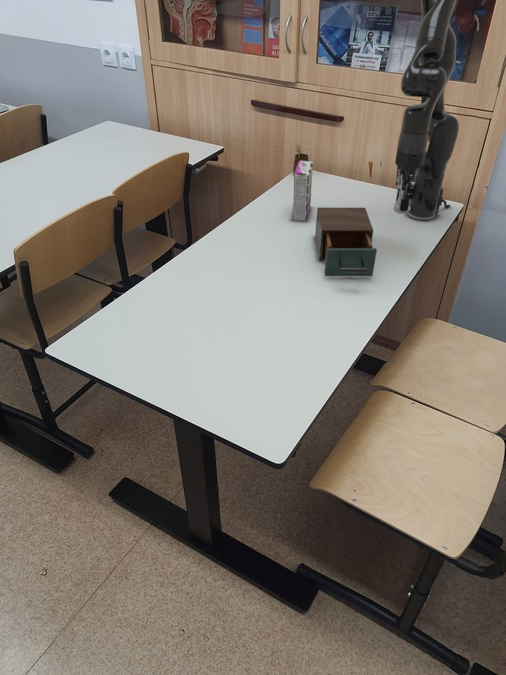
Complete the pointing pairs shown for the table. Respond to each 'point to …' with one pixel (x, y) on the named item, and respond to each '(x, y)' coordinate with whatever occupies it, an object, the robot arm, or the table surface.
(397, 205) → the rook chess piece
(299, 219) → the candy bar box
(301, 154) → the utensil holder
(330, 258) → the drawer
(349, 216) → the cabinet
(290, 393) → the table surface
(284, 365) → the table surface
